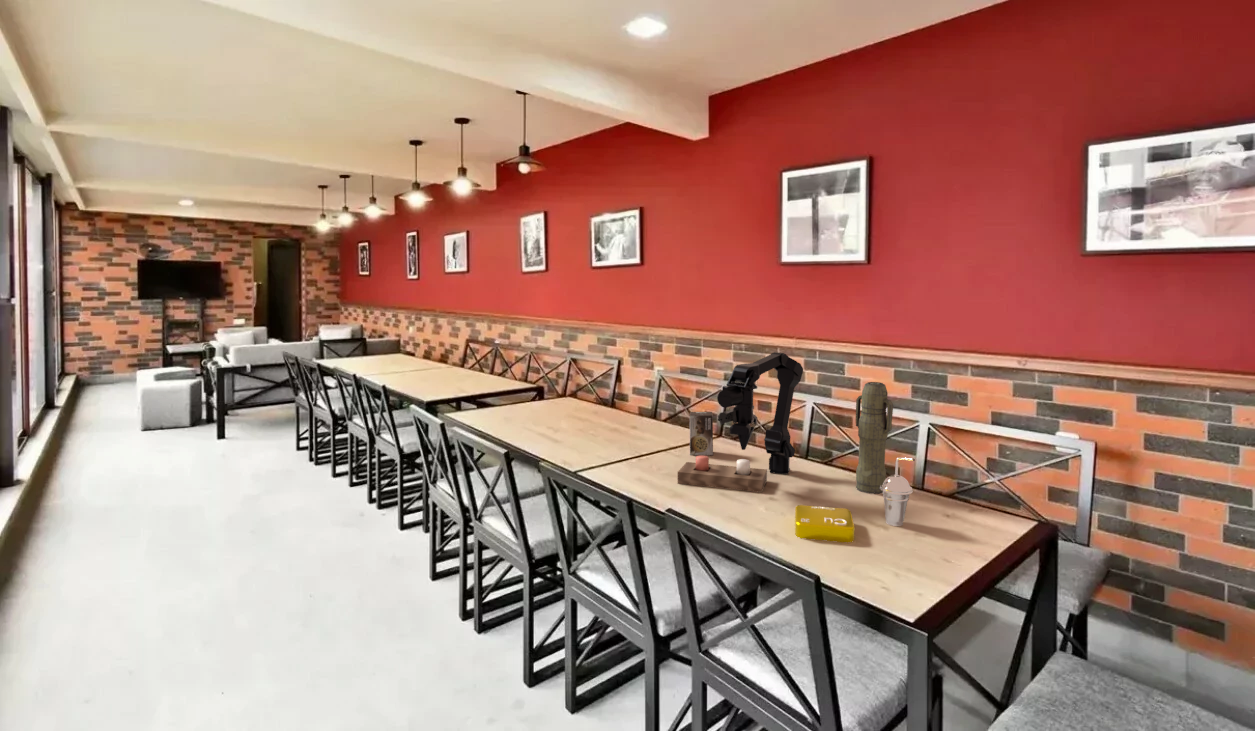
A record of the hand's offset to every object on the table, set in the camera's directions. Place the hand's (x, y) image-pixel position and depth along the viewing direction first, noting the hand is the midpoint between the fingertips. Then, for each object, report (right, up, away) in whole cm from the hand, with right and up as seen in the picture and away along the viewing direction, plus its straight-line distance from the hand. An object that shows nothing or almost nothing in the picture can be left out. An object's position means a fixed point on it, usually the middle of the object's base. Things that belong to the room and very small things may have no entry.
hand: (743, 449), depth 210 cm
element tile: (+15, -18, -36) cm, 43 cm away
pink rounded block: (-13, -8, +6) cm, 16 cm away
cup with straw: (+36, -17, -33) cm, 52 cm away
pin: (0, -8, +1) cm, 8 cm away
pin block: (-6, -12, +4) cm, 14 cm away
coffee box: (-10, -7, +39) cm, 41 cm away
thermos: (+40, -13, -4) cm, 43 cm away
